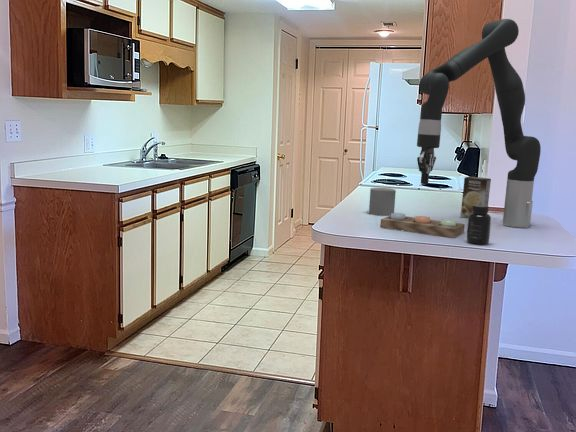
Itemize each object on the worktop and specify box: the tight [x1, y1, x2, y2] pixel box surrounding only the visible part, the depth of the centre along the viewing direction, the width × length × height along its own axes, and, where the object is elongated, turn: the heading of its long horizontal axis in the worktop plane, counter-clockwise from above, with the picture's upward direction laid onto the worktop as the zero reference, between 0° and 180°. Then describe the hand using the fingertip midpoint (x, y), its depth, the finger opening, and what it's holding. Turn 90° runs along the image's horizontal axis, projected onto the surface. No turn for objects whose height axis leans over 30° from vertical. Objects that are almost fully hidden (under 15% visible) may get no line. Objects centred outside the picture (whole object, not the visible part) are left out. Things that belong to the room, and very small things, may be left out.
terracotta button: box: [415, 215, 431, 224], centre depth 201 cm, size 5×5×3 cm
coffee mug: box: [368, 186, 397, 217], centre depth 233 cm, size 13×10×10 cm
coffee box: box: [460, 175, 492, 219], centre depth 229 cm, size 9×6×16 cm
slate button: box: [391, 212, 406, 220], centre depth 205 cm, size 5×5×3 cm
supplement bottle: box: [466, 205, 492, 246], centre depth 183 cm, size 7×7×12 cm
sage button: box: [440, 218, 457, 227], centre depth 196 cm, size 5×5×3 cm
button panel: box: [379, 215, 466, 239], centre depth 201 cm, size 26×12×3 cm, turn 58°
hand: (424, 183), depth 200 cm, fingers closed
